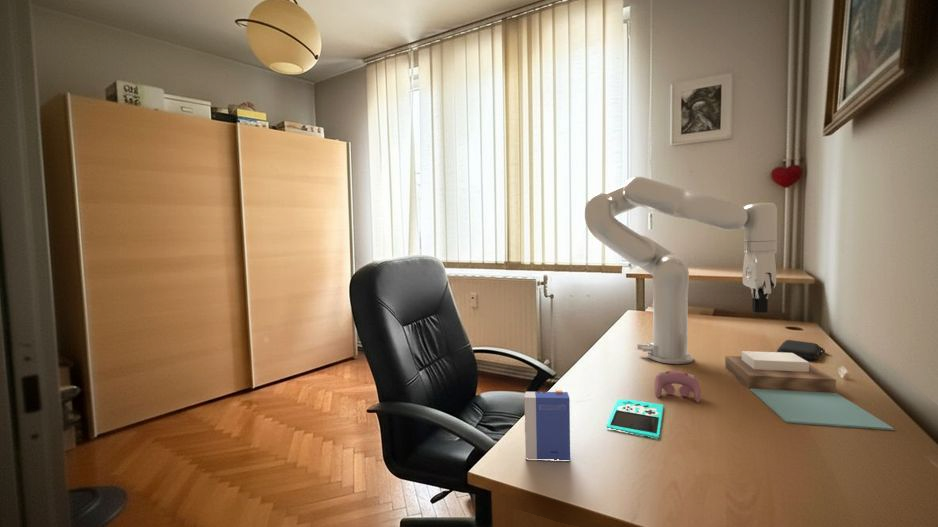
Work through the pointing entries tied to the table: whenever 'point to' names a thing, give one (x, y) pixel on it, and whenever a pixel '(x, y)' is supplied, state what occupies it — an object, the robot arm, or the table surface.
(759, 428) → the table surface
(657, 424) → the handheld game console
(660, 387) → the video game controller
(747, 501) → the table surface
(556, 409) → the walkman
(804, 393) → the mat
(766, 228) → the robot arm
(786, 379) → the brown wooden flat block
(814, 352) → the carrying case or bag
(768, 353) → the box
